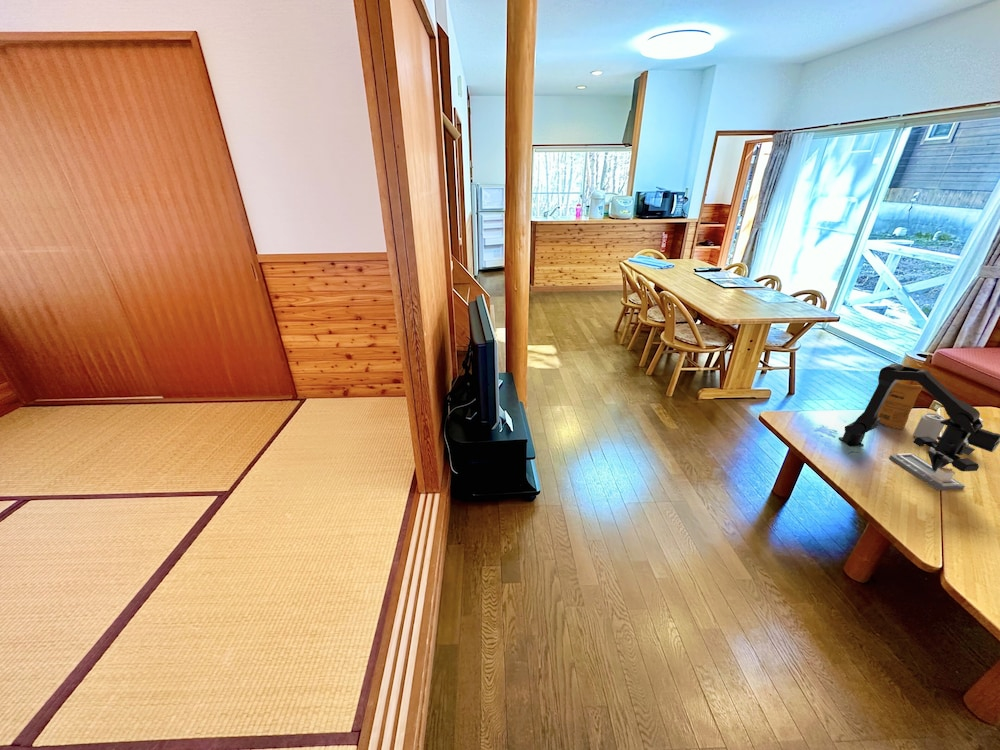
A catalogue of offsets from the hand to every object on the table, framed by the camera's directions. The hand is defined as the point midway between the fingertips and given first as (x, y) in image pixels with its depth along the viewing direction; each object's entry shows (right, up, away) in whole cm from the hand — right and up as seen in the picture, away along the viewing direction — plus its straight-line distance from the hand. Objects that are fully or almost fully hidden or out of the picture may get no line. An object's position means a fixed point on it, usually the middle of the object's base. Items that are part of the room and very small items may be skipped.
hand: (934, 470), depth 156 cm
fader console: (0, -2, +4) cm, 4 cm away
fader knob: (0, -3, -2) cm, 4 cm away
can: (+22, +9, +24) cm, 34 cm away
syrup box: (+31, +7, +20) cm, 37 cm away
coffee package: (+17, +15, +37) cm, 43 cm away
